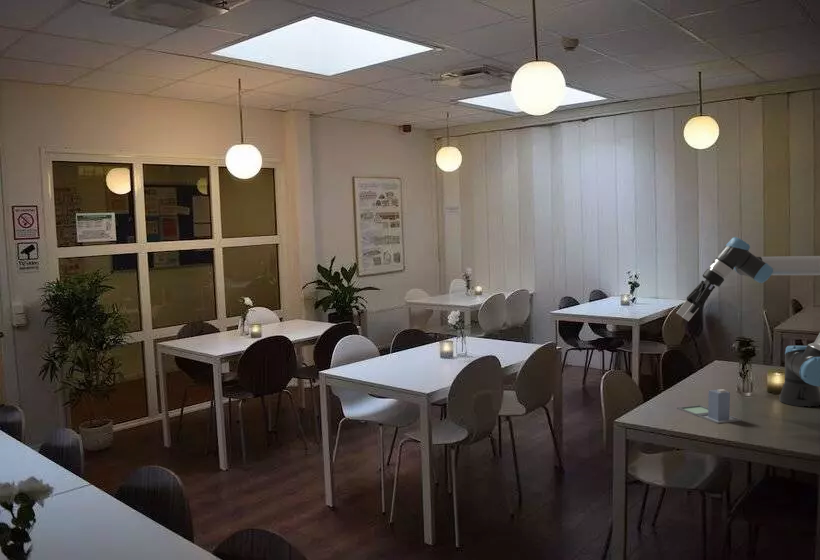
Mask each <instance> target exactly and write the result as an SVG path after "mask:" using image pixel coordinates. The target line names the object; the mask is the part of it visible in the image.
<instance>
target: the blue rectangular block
mask: <svg viewBox="0 0 820 560" xmlns="http://www.w3.org/2000/svg"><path fill="white" fill-rule="evenodd" d="M730 397H731V393H730V392H729V391H727V390H726V389H723V388H722V389H721V388H718V389H711V390H708V402H707V403H708V406H707V408H708V417H709V418H712V419H714V420H717V421H721V420H729V415H731V414H730V410H731V409H730V406H731V405H730V404H731V398H730Z"/></svg>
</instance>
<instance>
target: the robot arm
mask: <svg viewBox="0 0 820 560" xmlns="http://www.w3.org/2000/svg"><path fill="white" fill-rule="evenodd" d="M750 249H751V245H750V244H749V243H747V242H746V241H744V239H742V238H739V237H738V236H733V237H732V238H730V240H729V241H728V242H727V243H726V244H725V246H724V247H723V248H722V250H721V251H720V252H719V253H718V255H717V256H716V257H715V259H714V260H711V264H710V265H709V268H706V270H705V271H704V272H703V273H702V278H703V279H705V280H701V281H700V283H699V284H698V285H697V286H695V288H694V289H693V290H692V291H691V292H690V293H689V294H688V295H687V296H686V300H685V301H684V303H682V305H681V307H679V309H678V310H677V311H676V315H678V316H680V317H681V318H683V319H684V320H685V321H687V322H689V321H690V320H691V319H692V318H693V316H694V315H695V314H696V313H697V312H698V311H699V309H700V308H702V307H703V306H704V304H705V303H706V301H707V300H708V298H709V297H710V295H711V293H712V292H713V291H714V289H715V288H716V287H720V286H721V285H722V284H723V283H724V281H725V279H726V278H728V276H729V275H730V274H731V273H732V272H733V270H734V271H735V272H736V273H737V274H738V275H740V276H745V277H748V278H751V279H752V280H753V281H755V282H756V283H759V284H763V283H765V282H767V281H768V279H770V277H771V276H820V255H806V256H805V255H798V256H797V255H791V256H787V255H785V256H783V255H782V256H781V255H780V256H777V255H776V256H756V255H754V254H753V253H751V252H750ZM784 357H785V358H784V383H783V384H782V388H781V391H780V393H779V394H778V395H779V401H780V402H781V403H783V404H786V405H790V406H796V407H804V406H808V407H807V408H812V407H811V406H816V407H820V406H819V405H820V332H819V333H818V335H817V337H816V338H815V340H814V341H813V342H812V343H808V344H807V345H787V346H786V347H785V351H784Z"/></svg>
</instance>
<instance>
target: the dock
mask: <svg viewBox="0 0 820 560" xmlns="http://www.w3.org/2000/svg"><path fill="white" fill-rule="evenodd" d="M676 409H677V410H679V411H682V412H685V413H686V414H690V415H692V416H695V417H698V418H701V419H704V420H706V421H709V422H711V423H714V424H716V425H718V424H719V425H720V424H725V423H733V422H735V423H737V422H742V419H741V418H739V417H737V416H733V415H731V414H729V420H721V421H717V420H714V419H712V418H709V417H708V406H704V405H701V404H697V405H696V404H695V405H694V404H693V405H688V406H685V405H684V406H677V407H676Z"/></svg>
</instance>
